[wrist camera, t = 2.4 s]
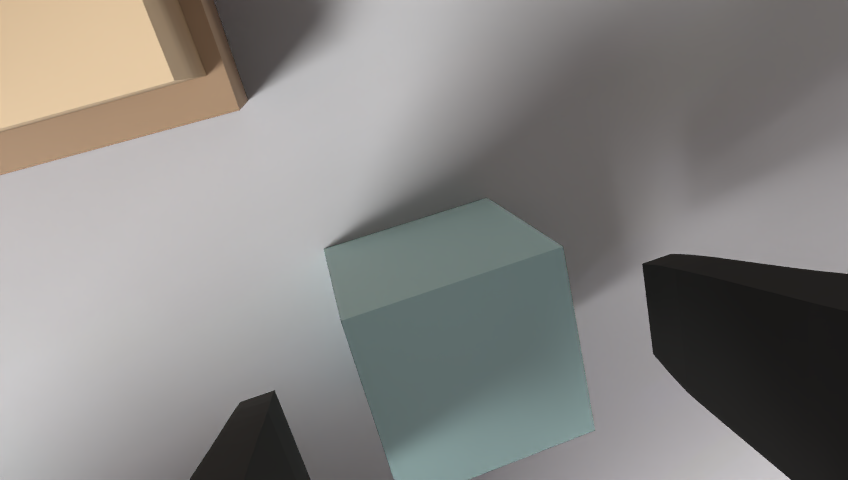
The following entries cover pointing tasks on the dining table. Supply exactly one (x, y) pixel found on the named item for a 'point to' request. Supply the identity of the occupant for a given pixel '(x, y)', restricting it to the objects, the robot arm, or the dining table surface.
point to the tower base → (138, 104)
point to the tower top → (88, 54)
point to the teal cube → (462, 340)
